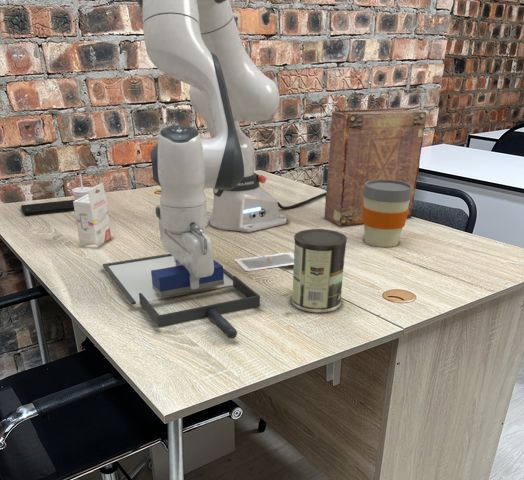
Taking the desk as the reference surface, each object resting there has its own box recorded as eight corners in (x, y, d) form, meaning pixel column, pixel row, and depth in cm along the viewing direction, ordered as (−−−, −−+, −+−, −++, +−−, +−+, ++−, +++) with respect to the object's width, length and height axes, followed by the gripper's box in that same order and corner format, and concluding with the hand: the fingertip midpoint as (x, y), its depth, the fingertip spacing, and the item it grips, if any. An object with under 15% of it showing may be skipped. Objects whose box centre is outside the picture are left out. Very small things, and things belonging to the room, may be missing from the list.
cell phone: (87, 208, 171) (86, 205, 171) (25, 215, 164) (24, 212, 163) (81, 201, 178) (80, 198, 178) (21, 208, 171) (20, 205, 170)
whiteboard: (200, 255, 139) (199, 248, 138) (240, 288, 121) (240, 281, 120) (103, 270, 129) (102, 263, 128) (132, 309, 111) (131, 302, 110)
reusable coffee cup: (413, 241, 151) (422, 185, 143) (388, 252, 143) (397, 193, 135) (374, 231, 158) (380, 177, 151) (348, 241, 150) (354, 184, 142)
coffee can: (329, 290, 122) (334, 226, 114) (348, 310, 113) (355, 243, 106) (284, 294, 119) (287, 230, 112) (300, 315, 110) (305, 247, 103)
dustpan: (140, 308, 112) (138, 293, 110) (235, 290, 120) (234, 275, 119) (178, 358, 95) (177, 340, 94) (284, 332, 104) (285, 316, 102)
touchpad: (305, 267, 132) (305, 258, 131) (246, 275, 127) (246, 266, 126) (290, 256, 139) (291, 247, 138) (234, 264, 133) (234, 255, 132)
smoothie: (71, 225, 157) (64, 174, 150) (86, 219, 163) (79, 169, 156) (90, 228, 155) (83, 176, 148) (104, 222, 161) (98, 172, 154)
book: (393, 209, 177) (407, 107, 162) (411, 217, 170) (427, 111, 155) (323, 218, 168) (332, 110, 153) (339, 227, 161) (350, 114, 146)
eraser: (214, 276, 121) (213, 259, 119) (224, 284, 117) (223, 266, 115) (152, 288, 115) (150, 270, 113) (161, 296, 111) (159, 278, 109)
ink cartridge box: (94, 236, 149) (86, 180, 142) (111, 238, 149) (105, 182, 141) (79, 247, 142) (70, 188, 135) (97, 248, 141) (89, 190, 134)
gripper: (221, 229, 102) (222, 298, 109) (180, 201, 118) (184, 263, 125) (188, 234, 99) (192, 304, 106) (151, 205, 115) (157, 268, 122)
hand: (187, 282), depth 116 cm, fingers closed on eraser, 5 cm apart
